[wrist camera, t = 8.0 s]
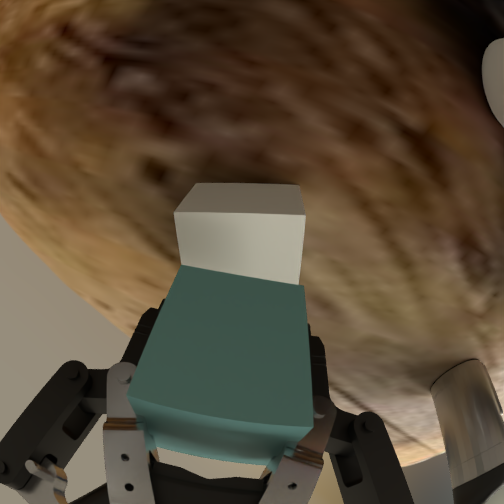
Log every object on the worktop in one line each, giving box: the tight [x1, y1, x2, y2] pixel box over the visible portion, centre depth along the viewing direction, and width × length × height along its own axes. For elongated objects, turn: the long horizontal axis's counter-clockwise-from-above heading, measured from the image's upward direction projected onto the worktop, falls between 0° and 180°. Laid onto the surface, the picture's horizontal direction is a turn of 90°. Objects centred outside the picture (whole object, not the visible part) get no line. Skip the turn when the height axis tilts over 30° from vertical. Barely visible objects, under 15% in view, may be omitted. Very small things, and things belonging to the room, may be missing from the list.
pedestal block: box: [174, 183, 306, 285], centre depth 19 cm, size 7×7×5 cm
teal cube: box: [126, 265, 314, 465], centre depth 10 cm, size 5×5×6 cm
